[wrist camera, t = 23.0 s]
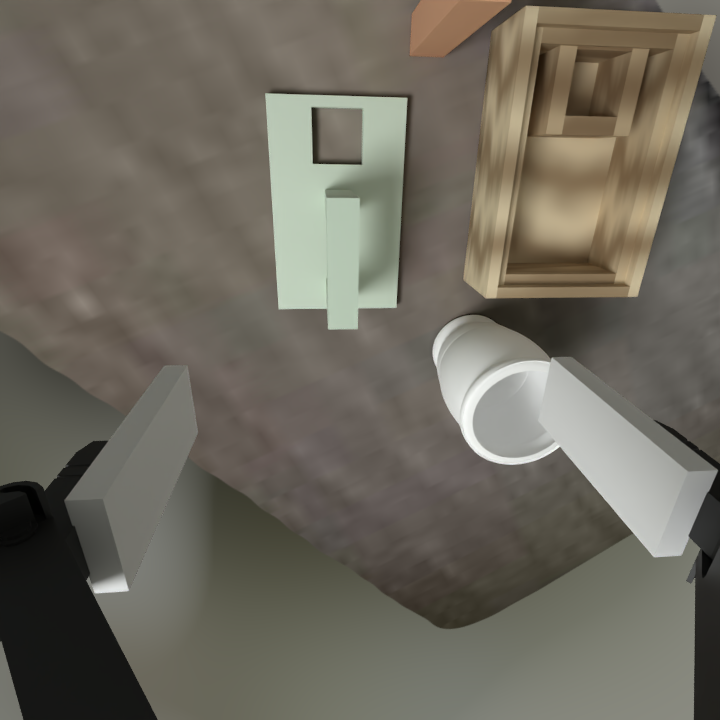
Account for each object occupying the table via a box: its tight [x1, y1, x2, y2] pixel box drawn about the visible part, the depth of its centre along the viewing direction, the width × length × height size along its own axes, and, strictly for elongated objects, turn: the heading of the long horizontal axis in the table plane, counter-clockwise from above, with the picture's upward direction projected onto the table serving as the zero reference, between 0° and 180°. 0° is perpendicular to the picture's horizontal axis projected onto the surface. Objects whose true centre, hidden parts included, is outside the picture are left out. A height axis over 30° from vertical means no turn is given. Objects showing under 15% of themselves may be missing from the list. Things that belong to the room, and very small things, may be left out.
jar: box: [433, 315, 560, 465], centre depth 44 cm, size 11×10×15 cm
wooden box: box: [463, 6, 716, 298], centre depth 41 cm, size 22×15×7 cm
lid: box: [265, 93, 407, 329], centre depth 39 cm, size 19×12×10 cm, turn 179°
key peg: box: [410, 0, 511, 57], centre depth 32 cm, size 3×3×15 cm
